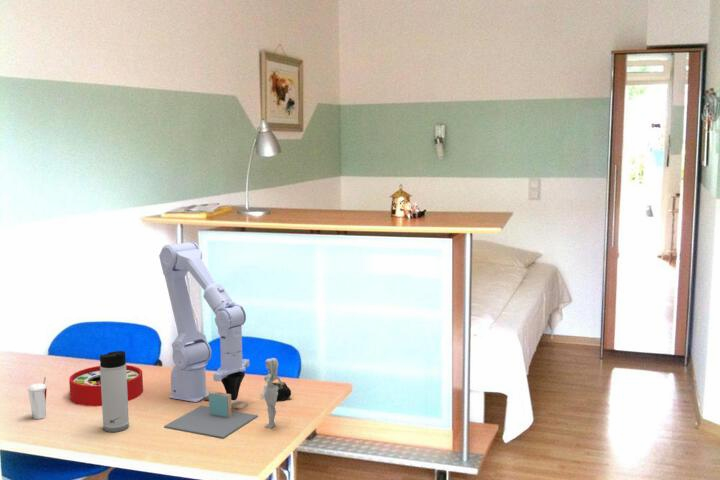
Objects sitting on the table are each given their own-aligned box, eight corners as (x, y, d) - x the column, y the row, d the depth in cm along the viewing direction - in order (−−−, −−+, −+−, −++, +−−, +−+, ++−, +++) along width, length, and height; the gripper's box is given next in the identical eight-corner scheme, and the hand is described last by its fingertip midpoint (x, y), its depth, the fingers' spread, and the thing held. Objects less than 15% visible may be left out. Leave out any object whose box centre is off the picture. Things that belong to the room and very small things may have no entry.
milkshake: (54, 414, 202) (52, 378, 200) (39, 421, 197) (37, 384, 195) (40, 412, 203) (38, 376, 202) (26, 419, 198) (23, 382, 197)
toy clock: (55, 385, 208) (88, 363, 228) (57, 405, 209) (89, 382, 229) (125, 387, 206) (152, 365, 226) (126, 408, 207) (153, 384, 227)
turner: (200, 402, 211) (200, 398, 210) (208, 397, 214) (208, 394, 214) (239, 408, 205) (239, 405, 205) (247, 404, 209) (247, 400, 209)
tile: (209, 414, 200) (208, 393, 199) (212, 412, 201) (211, 391, 201) (228, 418, 197) (227, 396, 197) (231, 416, 199) (231, 394, 198)
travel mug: (115, 434, 188) (111, 356, 185) (97, 429, 191) (94, 352, 189) (135, 426, 193) (131, 350, 190) (117, 421, 197) (114, 346, 194)
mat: (164, 427, 192) (164, 425, 192) (201, 406, 207) (201, 405, 207) (223, 438, 185) (223, 437, 185) (257, 416, 200) (257, 415, 200)
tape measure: (291, 400, 212) (291, 387, 212) (267, 403, 210) (267, 390, 210) (286, 392, 219) (286, 380, 218) (263, 395, 217) (263, 382, 216)
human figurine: (276, 417, 199) (275, 351, 196) (289, 419, 198) (288, 352, 195) (254, 434, 188) (253, 364, 185) (268, 436, 186) (267, 366, 184)
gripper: (228, 359, 194) (230, 410, 196) (258, 345, 208) (259, 392, 209) (206, 356, 197) (207, 406, 199) (236, 342, 210) (237, 389, 212)
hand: (232, 399), depth 204 cm, fingers closed
